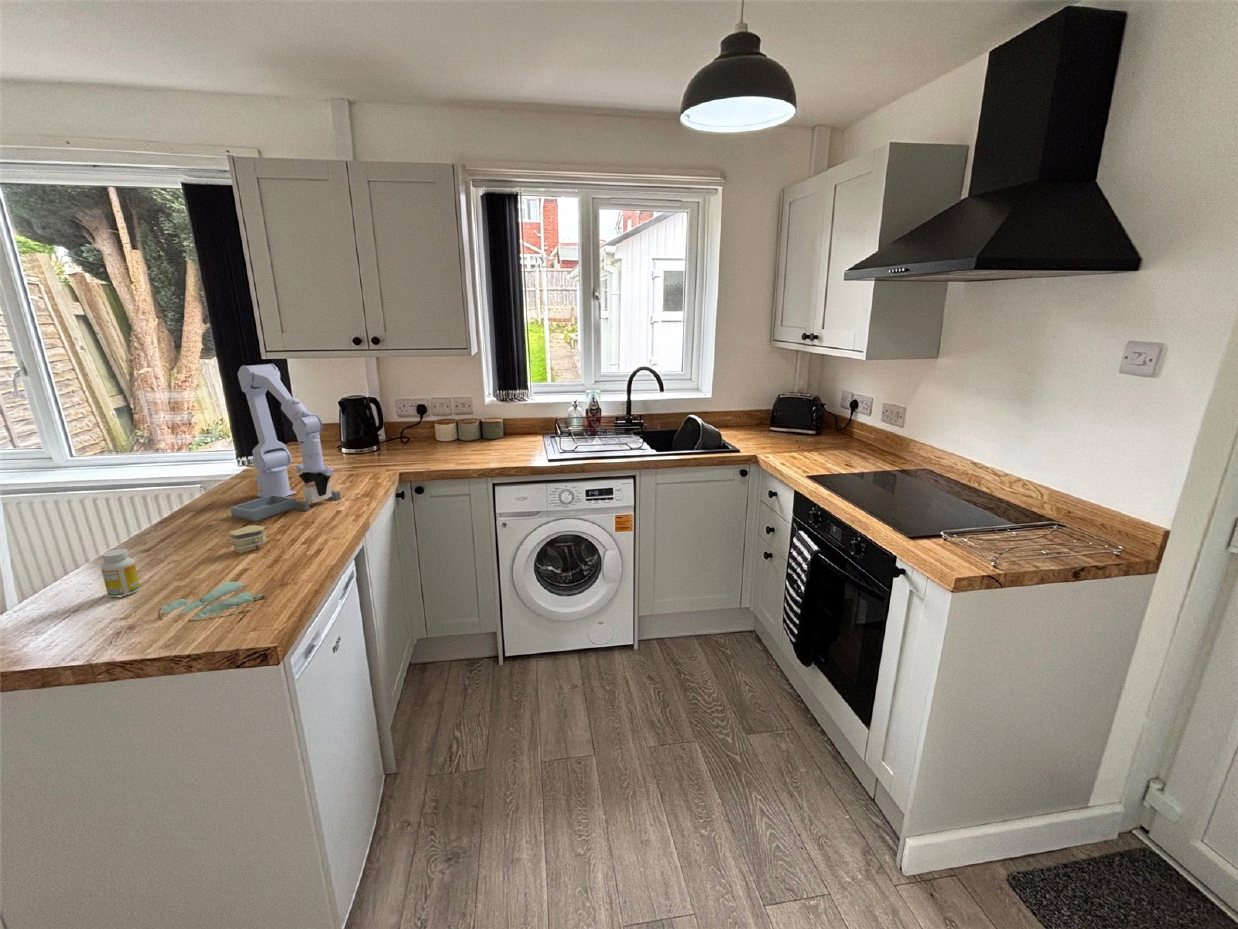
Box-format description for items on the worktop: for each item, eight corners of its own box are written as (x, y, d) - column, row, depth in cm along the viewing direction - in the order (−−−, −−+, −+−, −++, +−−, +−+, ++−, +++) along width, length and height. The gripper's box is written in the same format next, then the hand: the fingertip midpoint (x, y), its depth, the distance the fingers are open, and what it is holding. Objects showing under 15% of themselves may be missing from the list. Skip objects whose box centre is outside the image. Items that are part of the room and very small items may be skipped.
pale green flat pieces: (142, 613, 112) (140, 602, 112) (256, 572, 130) (254, 563, 130) (186, 643, 102) (184, 631, 101) (303, 594, 120) (302, 584, 119)
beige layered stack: (238, 560, 136) (234, 539, 135) (222, 552, 141) (217, 532, 140) (280, 546, 145) (276, 527, 143) (263, 539, 149) (259, 520, 148)
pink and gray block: (305, 501, 174) (302, 484, 172) (324, 494, 180) (321, 479, 179) (312, 502, 173) (310, 486, 171) (331, 496, 179) (329, 480, 177)
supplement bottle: (110, 601, 116) (99, 559, 113) (106, 593, 119) (95, 553, 117) (143, 592, 120) (133, 551, 117) (138, 584, 123) (128, 545, 121)
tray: (231, 516, 166) (230, 507, 165) (274, 503, 178) (273, 494, 177) (255, 521, 162) (253, 511, 161) (297, 507, 174) (295, 498, 173)
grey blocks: (296, 509, 172) (295, 501, 171) (332, 497, 183) (331, 490, 183) (305, 510, 170) (304, 503, 170) (340, 498, 182) (339, 491, 181)
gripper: (284, 454, 172) (291, 495, 175) (316, 458, 166) (323, 500, 170) (304, 449, 178) (310, 489, 181) (336, 453, 172) (342, 494, 176)
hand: (318, 494), depth 176 cm, fingers closed on pink and gray block, 3 cm apart
